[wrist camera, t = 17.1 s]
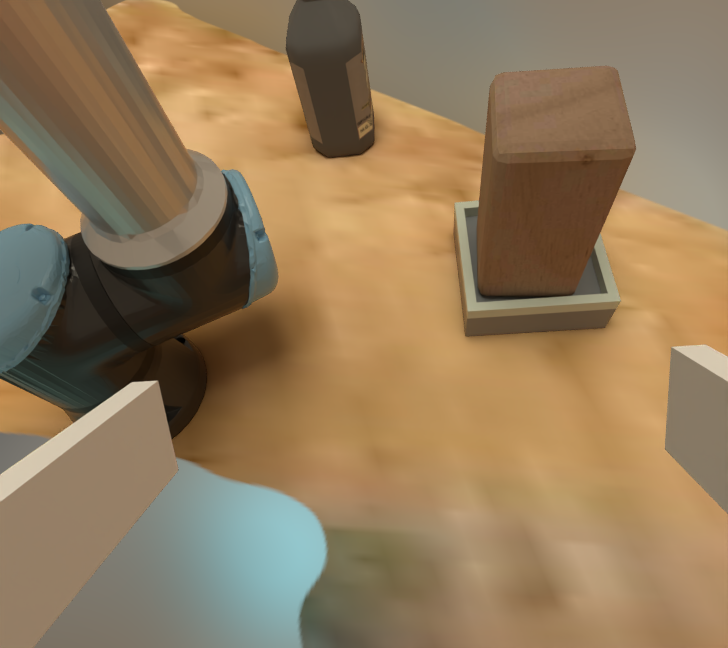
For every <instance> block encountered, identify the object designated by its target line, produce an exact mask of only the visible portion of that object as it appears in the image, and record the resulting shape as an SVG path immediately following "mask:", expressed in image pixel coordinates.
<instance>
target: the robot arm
mask: <svg viewBox="0 0 728 648" xmlns="http://www.w3.org/2000/svg"><path fill="white" fill-rule="evenodd" d="M0 130H1V131H2V132H3V133H4V134H5V135H6V136H7V137H8V138H9V139H10V140H11V141H12V142H13V143H14V144H15V145H16V146H17V147H18V148H19V149H20V150H21V151H22V152H23V153H24V154H25V155H26V156H27V157H28V158H29V159H30V160H31V161H32V162H33V163H34V165H35V166H36V167H37V168H38V169H39V170H40V171H41V172H42V173H43V174H44V175H45V176H46V177H47V178H48V179H49V180H50V181H51V182H52V183H53V184H54V185H55V186H56V187H57V188H58V189H59V190H60V191H61V192H62V193H63V194H64V195H65V196H66V197H67V198H68V199H69V200H70V201H71V202H72V203H73V204H74V205H75V206H76V207H77V208H78V209H79V210H80V211H81V212H82V214H81V220H80V222H81V232H80V233H78V234H75V235H72V236H70V237H67V238H65V239H63V237H62V236H61V235H60V234H59V233H58V232H56V231H54V230H52V229H49V228H47V227H45V226H42V225H33V224H20V225H16V226H13V227H9V228H7V229H4V230H2V231H0V379H2V380H4V381H6V382H8V383H10V384H13V385H15V386H17V387H19V388H21V389H23V390H25V391H27V392H29V393H31V394H33V395H35V396H37V397H40V398H42V399H44V400H46V401H48V402H50V403H52V404H54V405H56V406H58V407H60V408H62V409H64V411H65V412H66V413H67V415H68V416H69V417H70V419H71V420H72V421H73V424H72V425H70V426H69V427H67V428H66V429H64V430H63V431H62V432H60V433H59V434H57V435H56V436H54V437H53V438H52V439H50V440H49V441H47V442H46V443H44V444H43V445H42V446H40V447H39V448H37V449H36V450H35V451H33V452H32V453H30V454H29V455H27V456H26V457H25V458H23V459H22V460H20V461H19V462H17V463H16V464H15V465H13V466H12V467H10V468H9V469H8V470H6V471H5V472H3V473H2V474H0V648H34V646H35V645H36V644H37V643H38V641H39V640H40V639H41V638H42V636H43V635H44V634H45V633H46V632H47V630H48V629H49V628H50V627H51V625H52V624H53V623H54V622H55V621H56V619H57V618H58V617H59V616H60V614H61V613H62V612H63V611H64V610H65V608H66V607H67V606H68V605H69V603H70V602H71V601H72V600H73V598H74V597H75V596H76V595H77V594H78V592H79V591H80V590H81V589H82V588H83V586H84V585H85V584H86V582H87V581H88V580H89V579H90V578H91V577H92V575H93V574H94V573H95V572H96V570H97V569H98V568H99V567H100V566H101V564H102V563H103V562H104V561H105V559H106V558H107V557H108V556H109V555H110V553H111V552H112V551H113V550H114V548H115V547H116V546H117V545H118V544H119V542H120V541H121V540H122V538H123V537H124V536H125V535H126V534H127V533H128V531H129V530H130V529H131V528H132V526H133V525H134V524H135V523H136V521H137V520H138V519H139V518H140V517H141V515H142V514H143V513H144V512H145V510H146V509H147V508H148V507H149V506H150V504H151V503H152V502H153V501H154V499H155V498H156V497H157V496H158V495H159V493H160V492H161V491H162V490H163V488H164V487H165V486H166V485H167V484H168V482H169V481H170V480H171V478H172V477H173V476H174V475H175V474H176V473H177V471H178V466H177V461H176V457H175V453H174V448H173V444H172V440H171V439H172V438H173V437H174V436H176V435H177V434H178V433H179V432H180V431H181V430H182V429H183V428H184V427H185V426H186V425H187V424H188V423H189V421H190V420H191V419H192V417H193V416H194V415H195V413H196V411H197V410H198V408H199V406H200V403H201V401H202V399H203V396H204V392H205V388H206V380H207V373H206V366H205V362H204V359H203V357H202V355H201V353H200V352H199V350H198V349H197V348H196V347H195V345H194V344H193V343H192V342H191V341H190V340H189V339H188V338H187V337H186V336H184V335H183V333H186V332H188V331H190V330H193V329H195V328H197V327H200V326H202V325H204V324H207V323H209V322H211V321H214V320H216V319H218V318H221V317H223V316H225V315H228V314H230V313H232V312H235V311H237V310H239V309H244V308H247V307H248V306H250V305H251V303H252V302H254V301H256V300H258V299H260V298H262V297H264V296H266V295H268V294H269V293H271V292H272V291H273V290H274V289H275V287H276V285H277V283H278V269H277V265H276V261H275V257H274V254H273V250H272V247H271V244H270V241H269V238H268V236H267V234H266V233H265V228H264V225H263V222H262V218H261V216H260V213H259V210H258V208H257V205H256V203H255V201H254V198H253V196H252V194H251V191H250V189H249V187H248V185H247V183H246V181H245V179H244V177H243V176H242V174H241V173H240V172H239V171H237V170H233V169H232V170H222V171H220V169H219V168H218V167H217V166H216V164H215V163H214V162H213V161H212V160H211V159H209V158H208V157H206V156H205V155H203V154H201V153H199V152H196V151H193V150H190V149H186V148H185V146H184V145H183V143H182V141H181V139H180V138H179V136H178V134H177V133H176V131H175V129H174V127H173V126H172V124H171V122H170V120H169V119H168V117H167V115H166V113H165V112H164V110H163V108H162V106H161V105H160V103H159V101H158V100H157V98H156V96H155V94H154V93H153V91H152V89H151V87H150V86H149V84H148V82H147V80H146V79H145V77H144V75H143V74H142V72H141V70H140V68H139V67H138V65H137V63H136V61H135V60H134V58H133V56H132V54H131V53H130V51H129V49H128V47H127V46H126V44H125V42H124V41H123V39H122V37H121V35H120V34H119V32H118V30H117V28H116V27H115V25H114V23H113V21H112V20H111V18H110V16H109V15H108V13H107V11H106V9H105V8H104V6H103V4H102V2H101V1H100V0H0ZM665 450H666V451H667V452H668V453H669V454H670V455H671V456H672V457H673V458H674V459H675V460H676V461H677V462H678V463H679V464H680V465H681V466H682V467H683V468H684V469H685V470H686V471H687V472H688V474H689V475H690V476H691V477H692V478H693V479H694V480H695V481H696V482H697V483H698V484H699V485H700V486H701V487H702V488H703V489H704V490H705V491H706V492H707V493H708V494H709V495H710V496H711V497H712V498H713V499H714V500H715V501H716V502H717V503H718V504H719V505H720V506H721V507H722V509H723V510H724V511H725V512H726V513H727V514H728V357H727V356H726V355H724V354H722V353H720V352H718V351H716V350H714V349H712V348H711V347H709V346H707V345H693V346H678V347H671V360H670V376H669V391H668V407H667V423H666V439H665Z"/></svg>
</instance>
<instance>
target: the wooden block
mask: <svg viewBox="0 0 728 648" xmlns="http://www.w3.org/2000/svg"><path fill="white" fill-rule="evenodd" d="M635 150H636V146H635V140H634V136H633V131H632V127H631V123H630V119H629V116H628V111H627V107H626V103H625V99H624V95H623V90H622V86H621V82H620V78H619V74H618V71H617V70H616V69H615V68H613V67H609V66H595V67H580V68H566V69H550V70H534V71H519V72H504V73H501V74H498V75H496V76H495V78H494V80H493V82H492V84H491V86H490V92H489V101H488V112H487V123H486V133H485V144H484V155H483V165H482V176H481V186H480V197H479V208H478V218H477V283H478V289H479V291H480V293H481V295H485V296H523V297H562V296H570V295H572V294H574V293H575V290H576V288H577V286H578V283H579V281H580V279H581V276H582V274H583V272H584V269H585V267H586V265H587V262H588V260H589V258H590V255H591V253H592V251H593V248H594V246H595V244H596V241H597V239H598V237H599V234H600V232H601V230H602V227H603V225H604V223H605V220H606V218H607V216H608V214H609V211H610V209H611V207H612V204H613V202H614V200H615V197H616V195H617V193H618V190H619V188H620V186H621V183H622V181H623V178H624V176H625V174H626V172H627V169H628V167H629V165H630V162H631V160H632V158H633V155H634V153H635Z"/></svg>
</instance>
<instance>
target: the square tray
mask: <svg viewBox="0 0 728 648" xmlns="http://www.w3.org/2000/svg"><path fill="white" fill-rule="evenodd" d="M478 208H479V201H468V202H458V203H455V207H454V240H455V249H456V258H457V266H458V275H459V284H460V292H461V301H462V310H463V318H464V327H465V336H479V335H495V334H511V333H527V332H543V331H559V330H575V329H591V328H605V327H606V325H607V323H608V322H609V320H610V318H611V317H612V315H613V313H614V312H615V310H616V308H617V307H618V305H619V303H620V302H621V300H620V296H619V293H618V290H617V287H616V283H615V280H614V277H613V273H612V270H611V267H610V264H609V260H608V257H607V254H606V250H605V247H604V244H603V241H602V237H601V234H599V237H598V239H597V241H596V244H595V246H594V248H593V251H592V253H591V255H590V258H589V260H588V262H587V265H586V267H585V269H584V272H583V274H582V276H581V279H580V281H579V283H578V286H577V288H576V290H575V293H574V294H572V295H570V296H562V297H523V296H485V295H481V293H480V291H479V289H478V283H477V218H478Z"/></svg>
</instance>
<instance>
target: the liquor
mask: <svg viewBox="0 0 728 648" xmlns="http://www.w3.org/2000/svg"><path fill="white" fill-rule="evenodd" d="M286 51H287V55H288V58H289V62H290V66H291V69H292V73H293V76H294V80H295V83H296V87H297V90H298V94H299V98H300V101H301V105H302V108H303V112H304V115H305V119H306V122H307V126H308V129H309V133H310V137H311V140H312V144H313V147H314V148H315V149H316V150H318V151H319V152H321V153H322V154H324V155H325V156H327V157H338V156H347V155H357V154H361V153H362V152H364V151H365V150H366V149H367V148H369V147H370V146H371V145H372V144H373V142H374V113H373V105H372V98H371V91H370V84H369V77H368V70H367V62H366V55H365V48H364V41H363V34H362V26H361V19H360V14H359V12H358V10H357V8H356V6H355V5H353V4H352V3H351V2H350V1H348V0H297V1H296V3H295V5H294V7H293V9H292V11H291V14H290V16H289V23H288V30H287V37H286Z"/></svg>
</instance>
